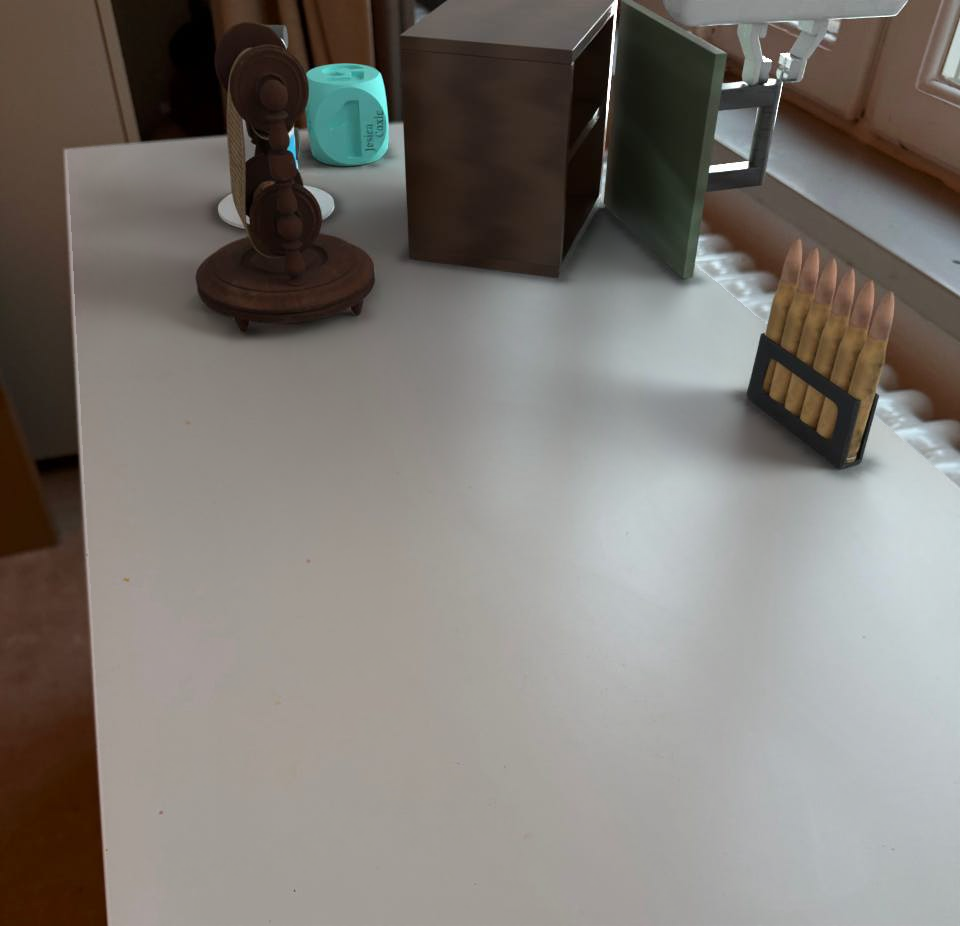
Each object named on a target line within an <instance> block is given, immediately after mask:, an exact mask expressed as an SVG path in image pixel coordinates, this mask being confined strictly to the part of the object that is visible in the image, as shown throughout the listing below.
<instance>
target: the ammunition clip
mask: <svg viewBox="0 0 960 926" xmlns="http://www.w3.org/2000/svg"><path fill="white" fill-rule="evenodd" d="M802 260H803V244H802V240H801V237H796V239H795V240H794V241H793V243H792V244H791V246H790V249H789V250H788V253H787V254H786V257H785V261H784V264H783V266H782V271H781V276H780V278H779V281H778V285H777V289H776V291H775V293H774V296H773V298H772V302H771V306H770V311H769V316H768V321H767V325H766V330H765V332H762V333H760V336H759V341H758V345H757V348H756V353H755V357H754V362H753V365H752V370H751V374H750V379H749V382H748V386H747V391H746V398H747V399H748V400H750V401H751V402H753V403H754V404H755V405H756V406H758V407H759V408H760V409H762V410H763V411H764V412H766V413H767V414H768V415H769V416H770V417H772V418H773V419H775V420H776V421H777V422H778V423H780V425H782V426H783V427H784V428H786V429H787V430H788V431H790V432H791V433H792V434H793V435H795V436H796V437H797V438H798V439H800V440H801V441H803V443H805V444H806V445H808V447H810V448H811V449H813V450H814V451H816V452H817V453H818V454H819V455H821V456H822V457H823V458H824V459H826V460H827V461H828V462H830V463H831V464H832V465H833V466H835V467H836V468H838V469H839V470H841V469H844V468H848V467H852V466H854V465H858V464H861V463H862V462H863V458H864V455H865V450H866V447H867V443H868V439H869V436H870V432H871V427H872V424H873V421H874V416H875V415H876V414H875V413H876V410H877V405H878V402H879V399H880V394H878V393H877V389H878V386H879V382H880V379H881V375H882V372H883V369H884V366H885V362H886V352H887V346H888V342H889V338H890V337H889V336H890V333H891V329H892V325H893V320H894V316H895V315H894V314H895V295H894V291H892V290H890V291H888V292H887V294H886V295H885V296H884V297H883V298H882V300H881V301H880V303H879V305H878V307H877V309H876V312H875V314H874V316H873V319H872V321H871V318H872V315H873V310H874V302H875V284H874V280H873V279H869V280H868V281H867V282H866V283H865V284H864V286H863V288H862V289H861V291H860V292H859V295H858V296H857V298H856V301H855V303H854V306H853V302H854V297H855V289H856V277H855V270H854V268H853V267H852V268H849V269H848V270H847V272H846V273H845V274H844V276H843V278H842V280H841V281H840V283H839V286H838V287H837V290H836V286H837V277H838V275H837V273H838V271H837V270H838V269H837V261H836V258H835V257H831V258H830V259H829V261H828V262H827V264H826V265H825V267H824V269H823V271H822V272H821V275H820V277H819V272H820V254H819V250H818V247H814V248H812V250H811V251H810V252H809V254H808V256H807V258H806V260H805V262H804V264H803V266H802V263H803V261H802ZM818 279H819V280H818ZM852 307H853V308H852ZM870 323H871V324H870Z"/></svg>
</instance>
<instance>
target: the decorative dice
mask: <svg viewBox="0 0 960 926" xmlns="http://www.w3.org/2000/svg"><path fill="white" fill-rule="evenodd" d="M306 75H307V79H308V84H309V97H308V102H307V105H306V108H305V110H304V112H305V118H306V119H305V120H306V126H307V127H306V128H307V133H308V140H309V145H310V150H311V154H312V156H313V158H315V159H316V160H317V161H319V162H321V163H323V164H326V165H329V166H330V165H331V166H339V167H354V166H357V167H358V166H363V165H368V164H372V163H374V162H377V161H378V160H380V159H382V157H383V156H385V154H386V152H387V151H388V149H389V142H390V141H389V140H390V135H389V133H390V131H389V130H390V129H389V128H390V127H389V111H388V102H387V95H386V87H385V83H384V79H383V76H382V73H381V72H380V71H379V70H378V69H377V68H376V67H373V66H370V65H365V64H358V63H330V64H324V65H320V66H316V67H313V68H311V69H310V70H308V71H307V72H306Z"/></svg>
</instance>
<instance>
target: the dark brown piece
mask: <svg viewBox="0 0 960 926" xmlns="http://www.w3.org/2000/svg"><path fill="white" fill-rule="evenodd" d="M266 25H267V24H264V23H261V22H257V21H243V22H239V23H236V24H234V25H232V26H231V27H229V28H228V29H227V30H225V32H224V33H223V34H222V35H221V37H220V38H219V40H218V42H217V44H216V48H215V53H214V69H215V73H216V76H217V79H218V81H219V82H220V84H221V87H222V88H223V89H224V91H225V92H226V93H227V96H226V97H227V98H226V136H227V137H226V138H227V152H228V166H229V179H230V188H231V194H232V196H233V201H234V204H235V207H236V210H237V212H238V214H239V217H240V219H241V221H242V223H243V225H244V228H245V229H244V230H245V232H246V234H247V236H246V237H245V236H244V237H242V238H239V239H237V240H234V241H231V242H230V243H226V244H225V245H223V246H221V247H220V248H219V249H217V250H216V251H215V252H213V253H211V254H210V255H209V256H207V257H206V258H205V259H204V260H203V261H202V262H201V263H200V264H199V266H198V268H197V269H196V272H195V283H196V288H197V294H198V297H199V299H200V300H201V301H202V302H203V304H204V305H206V306H207V307H208V308H210V309H211V310H212V311H215V312H216V313H218V314H221V315H223V316H226V317H229V318H232V319H234V323H235V325H236V326H237V328H238V330H239V332H241V333H243V334H244V333H246V332H248V329H249V327H250V326H249V325H250V322H253V323H263V324H289V323H290V324H291V323H300V322H301V323H302V322H309V321H314V320H318V319H321V318H322V319H323V318H327V317H330V316H333V315H336V314H339V313H342V312H344V311H347V310H349V309H350V310H351V312H352V314H353V315H354V316H359V315H361V314H362V310H363V306H364V305H363V304H364V300H365V299H366V298H367V297H368V296H369V295H370V294H371V293H372V291H373V289H374V287H375V284H376V273H375V264H374V261H373V259H372V257H371V256H370V254H369V253H367V252H366V251H365V250H364V249H362V248H361V247H359V246H357V245H355V244H354V243H352V242H350V241H347V240H345V239H342V238H340V237H338V236H334V235H331V234H326V233H322V232H321V230H322V227H323V226H322V225H323V224H322V223H323V220H322V213H321V209H320V206H319V203H318V201H317V200H316V198H315V197H314V195H313V194H312V193H311V192H310V191H309V190H308V189H306V188H305V187H304V186H303V185H304V181H303V177H302V175H301V173H300V172H299V168H298V169H297V168H296V162H295V158H294V155H293V153H292V152H291V151H289V150H287V149H288V147H289V144H290V138H289V134H288V133H289V132H290V131H291V130H292V128H293V126H294V127H295V124H296V123H297V122H298V121H299V119H300V118H301V117H302V116H303V114H304V112H305V108H306V105H307V102H308V97H309V84H308V79H307V75H306V74H307V72H306V71H305V68H304V67H303V65H302V63H301V61H299V59H298V58H297V57H296V56H295V55H294V54H293V53H292V52H291V51H289V50H288V49H286V46H285V44H284V43H283V41H282V39H281V38H280V37H279V36H278V34H277V33H276V32H275V31H273V30H272V29H271V28H269V27H268V26H266ZM242 119H243V120H244V121H245V123H246V129H247V133H248V136H249V137H250V138H251V143H253V144H254V145H256V147H255V154H254V157H252V158H250V159H249V160H247V161H246V158H245V143H244V132H243V121H242ZM246 215H247V216H248V217H249V222H250V224H248V223H247V221H246Z"/></svg>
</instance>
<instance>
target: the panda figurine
mask: <svg viewBox="0 0 960 926" xmlns="http://www.w3.org/2000/svg"><path fill="white" fill-rule="evenodd" d="M265 25H266V26H268V27H269V28H271V29H272V30H273V31H275V32H276V33H277V34H278V36H279V37H280V38H281V39H282V41H283V43H284V44H285V46H286V49H287V48H289V35H288V29H287V26H286V25H285V24H265ZM287 50H288V49H287ZM242 121H243V132H244V143H245V158H246V161H247V160H249V159H250V158H252V157H254V154H255V147H256V145H254V144H253V143H251V138H250V137H249V136H248V133H247V129H246V123H245V121H244V120H243V119H242ZM288 134H289V138H290V144H289V147H288V149H287V150H289V151H291V152H292V153H293V155H294V158H295V162H296V168H297V169H298V170H299V164H298V161H299V160H300V156H301V155H300V154H301V137H300V130H299V128H298V127H295V125H294V126H293V128H292V130H291V131H290V132H289V133H288ZM303 186H304V187H305V188H306V189H308V190H309V191H310V192H311V193H312V194H313V195H314V197H315V198H316V200H317V201H318V203H319V206H320V209H321V213H322V221H324V220H326V219H327V218H328V217H330V216H331V215H332V213H333V212H334V210H335V200H334V198H333V196H332V195H331V194H330V193H328V192H326V191H324V190H323V189H320V188H318V187H314V186H311V185H304V184H303ZM217 211H218V215H219V217H220V219H221V220H222V221H223V222H224V223H226V224H228V225H230V226H233V227H235V228H238V229H243V230H245V228H244V225H243V223H242V221H241V219H240V217H239V214H238V212H237V210H236V207H235V204H234V201H233V196H232V193H230V194H228V195H226V196H225V197H224V198H222V199H221V201H220V202H219V204H218V205H217ZM246 221H247V223H248V224H250V222H249V217H248V216H247V215H246Z"/></svg>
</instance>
